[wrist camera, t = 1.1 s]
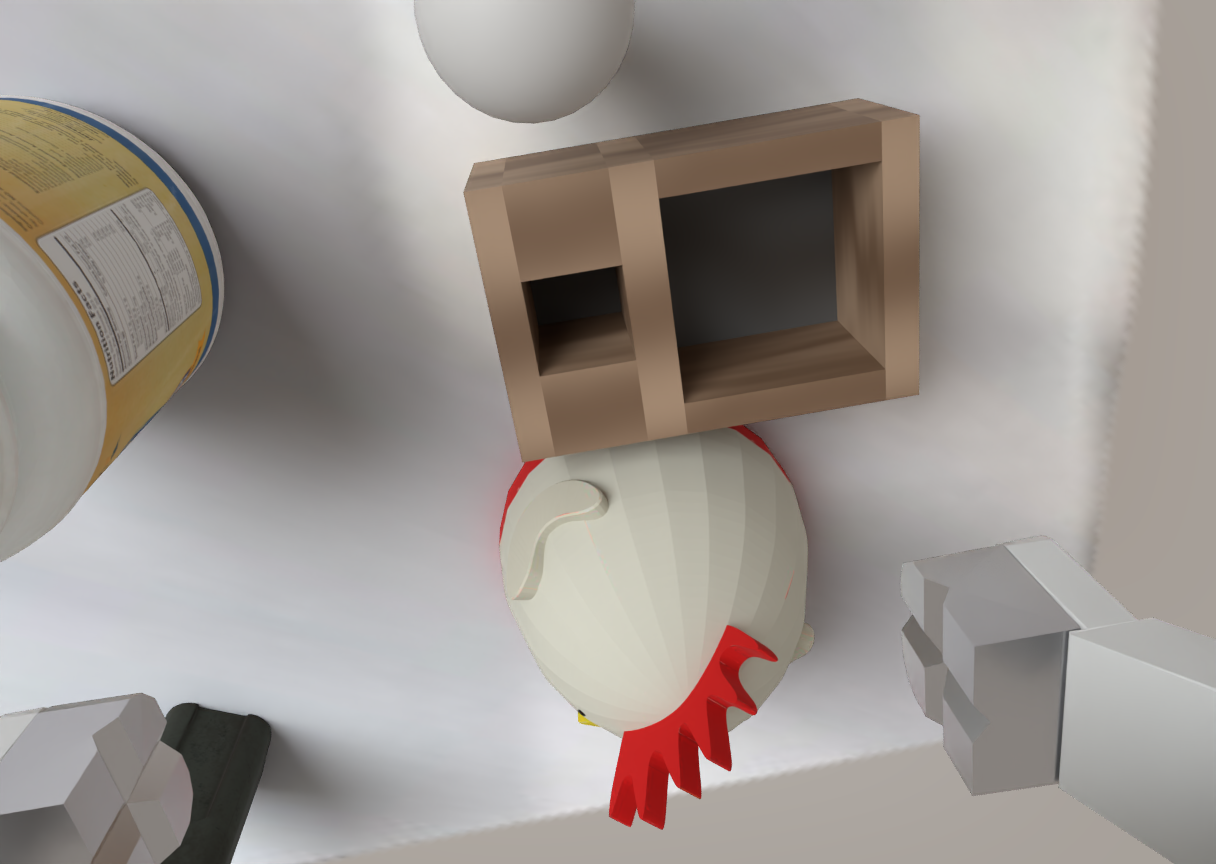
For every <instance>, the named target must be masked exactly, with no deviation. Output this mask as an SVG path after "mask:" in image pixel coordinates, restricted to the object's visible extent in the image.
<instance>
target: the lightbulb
mask: <svg viewBox="0 0 1216 864" xmlns="http://www.w3.org/2000/svg"><path fill="white" fill-rule="evenodd" d="M634 8H635V0H414V14H415V18H416V23H417V28H418V32H419V37H420V39H421V42H422V44H423V47H424V49H425V52H426V54H427V57H428V59H429V60H430V62H431V64H432V65H433V67H434V68H435V70H436V71H437V73H438V75H439V76H440V78H441V79H442V80H443V81H444V82H445V83H446V84H447V85H448V87H449V88H450V89H451V90H452V91H453V92H454V93H455V94H456V95H457V96H458V97H460V98H461V99H462V100H464V101H465V102H466V103H468V104H469V105H470V106H472V107H473V108H475V109H477V110H479V111H481V112H483V113H485V114H487V115H489V116H491V117H494V118H498V119H502V120H506V121H510V122H515V123H540V122H546V121H553V120H556V119H559V118H561V117H564V116H567V115H569V114H572V113H574V112H576V111H577V110H579V109H580V108H582V107H583V106H585V105H587V104H588V103H590V102H591V101H592V100H593V99H594V98H595V97H596V96H597V95H598V94H599V93H600V92H602V91H603V90H604V89H605V88H606V87H607V85H608V84H609V82H610V81H611V79H612V78H613V77H614V75H615V74H616V72H617V71H618V69H619V67H620V65H621V63H622V61H623V58H624V56H625V54H626V52H627V49H628V46H629V42H630V38H631V34H632V30H633V23H634Z"/></svg>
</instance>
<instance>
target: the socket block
mask: <svg viewBox="0 0 1216 864" xmlns="http://www.w3.org/2000/svg"><path fill="white" fill-rule="evenodd" d="M463 193H464V197H465V202H466V206H467V211H468V215H469V220H470V225H471V229H472V234H473V238H474V243H475V247H476V252H477V257H478V261H479V266H480V270H481V275H482V279H483V284H484V289H485V293H486V298H487V302H488V307H489V311H490V316H491V321H492V325H493V330H494V334H495V339H496V344H497V348H498V353H499V357H500V362H501V366H502V371H503V376H504V380H505V385H506V389H507V394H508V398H509V403H510V408H511V412H512V417H513V421H514V426H515V430H516V435H517V440H518V444H519V449H520V453H521V458H522V462H528V461H533V460H539V459H545V458H551V457H557V456H563V455H568V454H574V453H580V452H586V451H592V450H598V449H604V448H609V447H615V446H621V445H627V444H633V443H639V442H644V441H650V440H656V439H662V438H668V437H674V436H679V435H685V434H691V433H697V432H703V431H709V430H715V429H720V428H726V427H732V426H738V425H744V424H750V423H755V422H761V421H767V420H773V419H779V418H785V417H791V416H796V415H802V414H808V413H814V412H820V411H826V410H831V409H837V408H843V407H849V406H855V405H861V404H866V403H872V402H878V401H884V400H890V399H896V398H902V397H907V396H913V395H919V115H917V114H914V113H910V112H906V111H903V110H899V109H896V108H892V107H888V106H885V105H881V104H877V103H874V102H870V101H866V100H863V99H859V98H857V99H852V100H846V101H840V102H834V103H828V104H822V105H816V106H810V107H804V108H798V109H792V110H787V111H781V112H775V113H769V114H763V115H757V116H751V117H745V118H739V119H733V120H727V121H722V122H716V123H710V124H704V125H698V126H692V127H686V128H680V129H674V130H668V131H662V132H656V133H651V134H645V135H639V136H633V137H627V138H621V139H615V140H609V141H603V142H597V143H591V144H586V145H580V146H574V147H568V148H562V149H556V150H550V151H544V152H538V153H532V154H526V155H521V156H515V157H509V158H503V159H497V160H491V161H485V162H479V163H474V165H473V168H472V170H471V173H470V176H469V178H468V181H467V184H466V187H465V189H464V192H463Z"/></svg>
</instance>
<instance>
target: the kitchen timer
mask: <svg viewBox="0 0 1216 864" xmlns="http://www.w3.org/2000/svg"><path fill="white" fill-rule="evenodd" d="M499 550H500V558H501V566H502V575H503V583H504V591H505V596H506V599H507V603H508V605H509V608H510V610H511V612H512V614H513V616H514V618H515V620H516V622H517V624H518V626H519V629H520V631H521V633H522V635H523V637H524V639H525V641H526V643H527V645H528V647H529V649H530V651H531V653H532V655H533V657H534V659H535V661H536V663H537V664H538V666H539V668H540V670H541V672H542V674H543V675H544V676H545V678H546V679H547V680H548V682H549V683H550V684H551V685H552V686H553V687H554V688H555V689H556V690H557V691H558V692H559V693H560V694H561V695H562V696H563V697H564V698H565V699H566V700H567V701H568V702H569V703H570V704H571V705H572V706H573V707H574V708H575V709H576V710H577V711H578V721H579V723H581V724H586V725H592V726H598V727H602V728H604V729H605V730H607V731H609V732H611V733H613V734H615V735H616V736H618V737H620V738H622V743H621V748H620V753H619V757H618V762H617V767H616V772H615V777H614V782H613V787H612V792H611V800H610V809H609V817H610V818H612V819H614V820H616V821H619V822H620V823H622V824H624V825H626V826H628V827H631V825H632V822H633V819H634V815H635V812H636V809H637V810H638V814H639V817H640V819H642V820H644V821H645V822H647V823H649V824H651V825H653V826H655V827H658V828H659V829H663V828H664V824H665V815H666V803H667V788H668V776H669V773H670V775H671V777H672V779H673V781H674V783H675V785H676V786H677V787H678V788H680V789H682V790H683V791H685V792H687V793H689V794H691V795H693V796H695V797H697V798H699V799H701V780H700V770H699V756H698V746H699V747H700V749H701V751H702V753H703V754H704V756H705V757H706V759H708V760H710V761H711V762H713V763H715V764H717V765H719V766H720V767H722V768H724V769H726V770H728V771H731V768H732V760H731V751H730V743H729V736H728V732H730V731H731V730H733V729H734V728H735V727H737V726H738V725H739V724H741V723H742V722H743V721H745V720H747V719H749V718H750V717H751V716H753V715H756V713H757V710H758V709H759V708H760V707H761V705H762V704H763V703H764V701H765V700H766V699H767V698H768V696H769V695H770V694H771V693H772V691H773V690H774V689H775V688H776V686H777V685H778V684H779V682H780V681H781V679H782V678H783V676H784V674H785V672H786V670H787V668H788V665H789V664H790V663H791V662H793V661H794V660H796V659H798V658H800V657H802V656H804V655H806V654H807V653H808V652H809V651H810V649H811V648H812V646H813V643H814V631H813V629H812V628H811V626H810V625H808V624H807V623H804V619H805V603H806V587H807V566H808V542H807V535H806V530H805V526H804V523H803V520H802V516H801V513H800V509H799V506H798V502H797V499H796V496H795V492H794V489H793V486H792V484H791V483H790V481H789V479H788V477H787V475H786V473H785V472H784V470H783V468H782V467H781V465H780V464H779V463H778V461H777V460H776V459H775V457H774V456H773V454H772V453H771V452H770V450H769V449H768V447H767V446H766V445H765V443H764V442H763V440H762V439H761V438H760V437H758V436H757V435H756V434H754V433H753V432H751V431H750V430H749V429H747V428H746V427H745V426H743V425H738V426H732V427H726V428H720V429H715V430H709V431H703V432H697V433H691V434H685V435H679V436H674V437H668V438H662V439H656V440H650V441H644V442H639V443H633V444H627V445H621V446H615V447H609V448H604V449H598V450H592V451H586V452H580V453H574V454H568V455H563V456H557V457H551V458H545V459H539V460H533V461H528V462H525V464H524V466H523V467H522V469H521V471H520V472H519V474H518V476H517V477H516V479H515V481H514V483H513V484H512V486H511V488H510V489H509V491H508V495H507V500H506V504H505V509H504V513H503V518H502V522H501V527H500V541H499Z"/></svg>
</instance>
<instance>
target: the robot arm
mask: <svg viewBox="0 0 1216 864" xmlns="http://www.w3.org/2000/svg"><path fill="white" fill-rule="evenodd" d="M900 582H901V597H902V599H903V600H904V602H905V603H906V605H907V606H908V608H909V609H910V611H911V613H912V616H911V617H910V619H909V620H908V622H907V623H906V624H905V626H904V627H903V629H902V646H903V658H904V662H905V667H906V671H907V676H908V680H909V683H910V685H911V688H912V690H913V693H914V695H915V698H916V700H917V702H918V704H919V705H920V707H921V709H922V711H923V713H924V714H925V716H926V717H928V718H930V719H931V720H933V721H935V722H937V723H939V724H941V725H943V747H944V749H945V751H946V752H947V754H948V755H949V757H950V759H951V761H952V762H953V764H954V765H955V767H956V769H957V771H958V772H959V774H960V776H961V778H962V779H963V781H964V783H965V784H966V786H967V788H968V789H969V791H970V793H971V794H972V796H976V795H983V794H990V793H996V792H1003V791H1011V790H1017V789H1024V788H1031V787H1038V786H1045V785H1052V784H1059V788H1060V789H1061V790H1063V791H1064V792H1066V793H1067V794H1069V795H1070V796H1072V797H1073V798H1075V799H1076V800H1078V801H1079V802H1081V803H1083V804H1084V805H1086V806H1087V807H1089V808H1090V809H1092V810H1093V811H1095V812H1096V813H1098V814H1100V815H1101V816H1103V817H1104V818H1105V819H1107V820H1109V821H1110V822H1112V823H1113V824H1114V825H1116V826H1118V827H1119V828H1121V829H1122V830H1124V831H1125V832H1127V833H1128V834H1130V835H1131V836H1133V837H1134V838H1136V839H1137V840H1139V841H1141V842H1142V843H1143V844H1145V845H1146V846H1148V847H1150V848H1151V849H1153V850H1154V851H1156V852H1157V853H1159V854H1160V855H1162V856H1163V857H1165V858H1166V859H1168V860H1169V861H1171V862H1172V863H1174V864H1216V639H1215V638H1212V637H1209V636H1206V635H1203V634H1200V633H1197V632H1194V631H1192V630H1189V629H1186V628H1183V627H1180V626H1177V625H1174V624H1171V623H1168V622H1165V621H1162V620H1160V619H1157V618H1147V619H1141V620H1138V619H1137V618H1136V617H1135V616H1134V615H1132V614H1131V612H1130V611H1128V610H1127V609H1126V608H1125V607H1124V606H1123V605H1122V604H1121V603H1120V602H1119V601H1118V600H1117V599H1116V598H1115V597H1114V596H1113V595H1111V594H1110V593H1109V592H1108V591H1107V590H1106V589H1105V588H1104V587H1103V586H1102V585H1101V584H1100V583H1099V582H1098V581H1097V580H1095V579H1094V578H1093V577H1092V576H1091V575H1090V574H1089V573H1088V572H1087V571H1086V570H1085V569H1084V568H1083V567H1082V566H1081V565H1079V564H1078V563H1077V562H1076V561H1075V560H1074V559H1073V558H1072V557H1071V556H1070V555H1069V554H1068V553H1067V552H1066V551H1065V550H1063V549H1062V548H1061V547H1060V546H1059V545H1058V544H1057V543H1056V542H1055V541H1054V540H1053V539H1051V538H1048V537H1045V536H1042V535H1040V536H1035V537H1030V538H1025V539H1020V540H1015V541H1010V542H1006V543H1001V544H996V545H995V546H991V547H985V548H980V549H975V550H969V551H964V552H959V553H953V554H948V555H943V556H937V557H932V558H927V559H921V560H916V561H911V562H905V563H903V567H902V571H901V576H900ZM166 724H167V721H166V719H165V717H164V715H163V713H162V711H161V709H160V707H159V705H158V703H157V701H156V700H155V698H153V697H151V696H148V695H146V694H143V693H136V694H130V695H123V696H116V697H110V698H103V699H96V700H90V701H83V702H77V703H70V704H63V705H57V706H52V707H49V708H37V709H32V710H26V711H20V712H15V713H9V714H5V715H3V716H0V864H160V863H162V862H163V861H164V860H165V859H166V858H167V857H168V856H169V855H170V854H171V853H173V852H174V851H175V850H176V849H177V848H178V847H179V846H180V845H181V843H182V840H183V838H184V835H185V833H186V831H187V828H188V826H189V823H190V818H191V809H192V800H193V790H192V785H191V779H190V773H189V770H188V768H187V766H186V763H185V761H184V759H183V756H182V754H180V753H179V752H177V751H176V750H174V749H172V748H171V747H169V746H168V745H166V744H165V743H163V742H162V741H160V739H161V737H162V734H163V731H164V729H165V726H166Z"/></svg>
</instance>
